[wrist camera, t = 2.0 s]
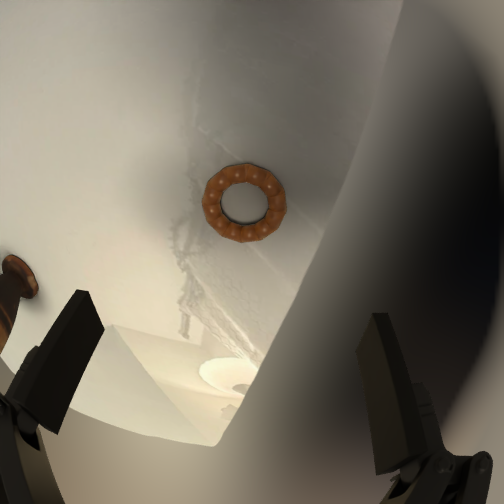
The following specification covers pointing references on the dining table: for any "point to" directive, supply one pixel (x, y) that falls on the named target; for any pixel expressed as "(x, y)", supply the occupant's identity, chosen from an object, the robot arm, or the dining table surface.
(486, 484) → the robot arm
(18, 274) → the vase
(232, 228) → the bracelet
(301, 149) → the dining table surface
